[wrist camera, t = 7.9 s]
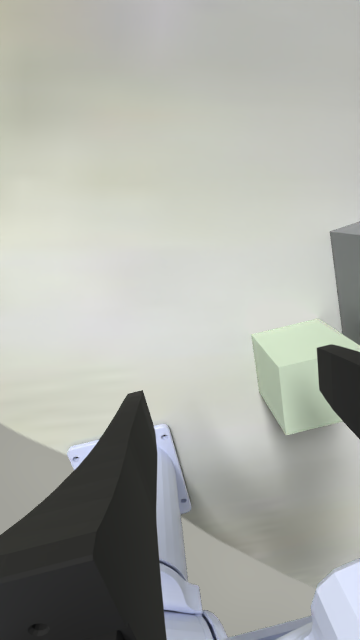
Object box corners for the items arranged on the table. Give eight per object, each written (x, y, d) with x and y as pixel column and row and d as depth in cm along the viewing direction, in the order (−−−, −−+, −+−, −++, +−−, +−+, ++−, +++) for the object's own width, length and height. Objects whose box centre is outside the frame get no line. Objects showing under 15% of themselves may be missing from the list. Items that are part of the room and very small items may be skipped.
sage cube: (320, 376, 24) (362, 416, 19) (258, 391, 24) (286, 435, 19) (317, 318, 22) (362, 347, 18) (251, 334, 22) (278, 367, 17)
